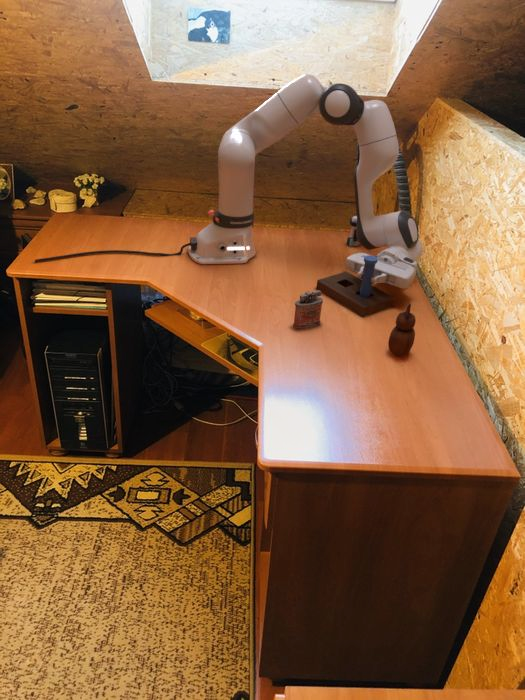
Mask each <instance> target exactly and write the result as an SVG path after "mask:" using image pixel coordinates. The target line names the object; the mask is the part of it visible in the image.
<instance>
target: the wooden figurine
mask: <svg viewBox="0 0 525 700" xmlns="http://www.w3.org/2000/svg"><path fill="white" fill-rule="evenodd" d="M411 309H412V304H411V302H409V303H408V305H407V306H406V309H405V311H401V312H399V313H398V314H397V316H396V319H395V326H394V327H393V328H392V329H391V331H390V334H389V338H388V343H387V345H388V350H389V352H390V354H392V355H393V356H395V357H398V358H403V357H405V356H407V355H409V353H410V351H411V350H412V348H413V345H414V343H415V338H416V330H415V329H414V328H415V325H416V323H417V322H416V316H415V315H414V313H412V312H411Z"/></svg>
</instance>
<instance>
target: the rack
mask: <svg viewBox="0 0 525 700" xmlns="http://www.w3.org/2000/svg"><path fill="white" fill-rule="evenodd" d="M361 283H362V279H360V278H357V275H356V276H355V275H354V274H352V273H350V272H349V271H343V272H340V273H336V274H333V275H330V276H326V277H322V278H319V279H317V280H316V291H318V290H320V291H321V294H324V295H326V296H328V297H329V298H331V299H332V300H333V301H335V302H337V303H339V304H340V305H342V306H343V307H346V308H347V309H349V310H351V311H352V312H354V313H355V314H357V315H359V317H362V318H364V317H368V316H370V315H373V314H376V313H379V312H382V311H384V310H387V309H390V308H392V307H393V306H394V301H395V297H394V296H392V295H391V294H389V293H387V292H385V291H383V290H381V289H380V288H378V287H376V286H374V285H372V287H371V293H370V297H368V298H365V299H364V298H363V297H361V296H359V295H360V289H361Z"/></svg>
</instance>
